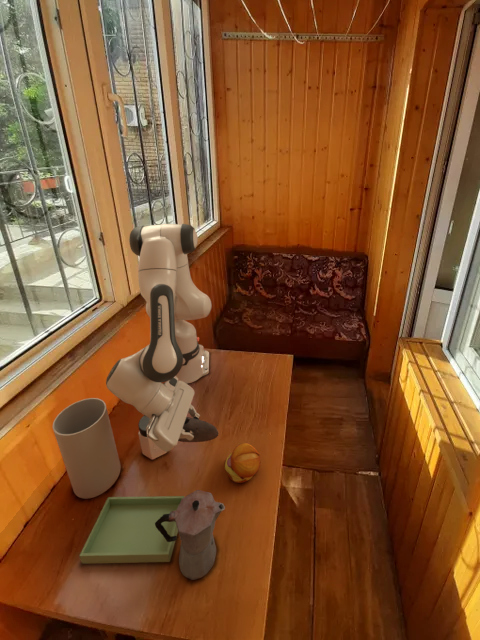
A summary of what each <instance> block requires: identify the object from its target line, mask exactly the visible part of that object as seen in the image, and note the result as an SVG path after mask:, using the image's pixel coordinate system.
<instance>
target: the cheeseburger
mask: <svg viewBox="0 0 480 640" xmlns="http://www.w3.org/2000/svg"><path fill="white" fill-rule="evenodd" d="M260 468H261V455H260V453H259V451H257V449H256V448H255V447H254V446H253V445H252V444H250V443H247V442H243V443H240V444H238V445H236V446H235V447H234V448H233V450H232V451H231V452H230V454H229V455H228V456H227V458H226V460H225V463H224V470H225V471H226V474H227V476H228V477H229V479H230V480H231V481H232V482H234V483H240V484H241V483H242V484H243V483H245V482H248V481H250V480H251V479H252V478H253V477H254V476H255V475H256V474H257V473H258V472H259V470H260Z"/></svg>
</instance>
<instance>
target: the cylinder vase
mask: <svg viewBox="0 0 480 640" xmlns="http://www.w3.org/2000/svg"><path fill="white" fill-rule="evenodd" d="M52 430H53V431H52V432H53V433H54V437H55V440H56V442H57V445H58V449H59V451H60V454H61V457H62V460H63V463H64V466H65V471H66V472H67V476H68V479H69V482H70V484H71V489H72V490H73V493H74V495H75V496H76V497H78V498H80V499H83V500H84V499H87V500H88V499H92V498H96V497H98V496H100V495H102V494H104V493H105V492H107V491H108V490H109V489H110V488H111V487H112V486H113V485H114V484H115V483H116V482H117V480H118V478H119V476H120V475H121V474H120V473H121V468H122V467H121V460H120V457H119V453H118V448H117V445H116V440H115V437H114V433H113V428H112V425H111V420H110V416H109V411H108V408H107V404H106V402H105V401H104V400H103V399H101V398H98V397H89V398H84V399H80V400H78V401H75V402H73V403H72V404H69V405H68V406H67V407H65V408H64V409H63V410H61V411H60V412H59V413H58V414H57V415H56V417H55V418H54V420H53V422H52Z"/></svg>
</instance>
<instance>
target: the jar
mask: <svg viewBox="0 0 480 640" xmlns="http://www.w3.org/2000/svg"><path fill="white" fill-rule="evenodd" d="M149 421H150V419H149V418H148V417H146V416H145V415H142V417H141V418H140V419H139V420H138V424H137V425H138V433H137V434H138V440H139V444H140V449H141V454H142V455H143V456H145V457H147V458H148V459H150V460H152V461H153V460H155V459H156V458H159V457H161V456H163V455H165V454H167V453H168V451H167V452H165V451H164V450H162V449H161V448H160V447H158V446H157V445H156V444H155V443H154V442H153V441H152V440H151V439H149V438H148V437H147V433H146V427H147V425H148V424H149ZM148 432H149V431H148Z"/></svg>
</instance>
